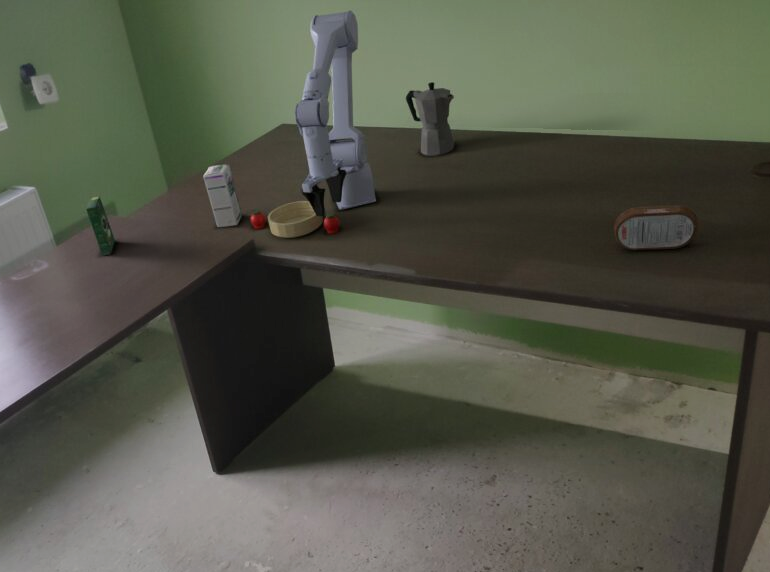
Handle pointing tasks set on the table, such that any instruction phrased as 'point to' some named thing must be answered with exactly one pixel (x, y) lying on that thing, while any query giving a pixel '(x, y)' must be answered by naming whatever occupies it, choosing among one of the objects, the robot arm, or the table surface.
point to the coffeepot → (433, 119)
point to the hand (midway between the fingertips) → (328, 208)
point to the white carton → (222, 195)
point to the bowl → (293, 219)
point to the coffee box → (100, 225)
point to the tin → (656, 227)
